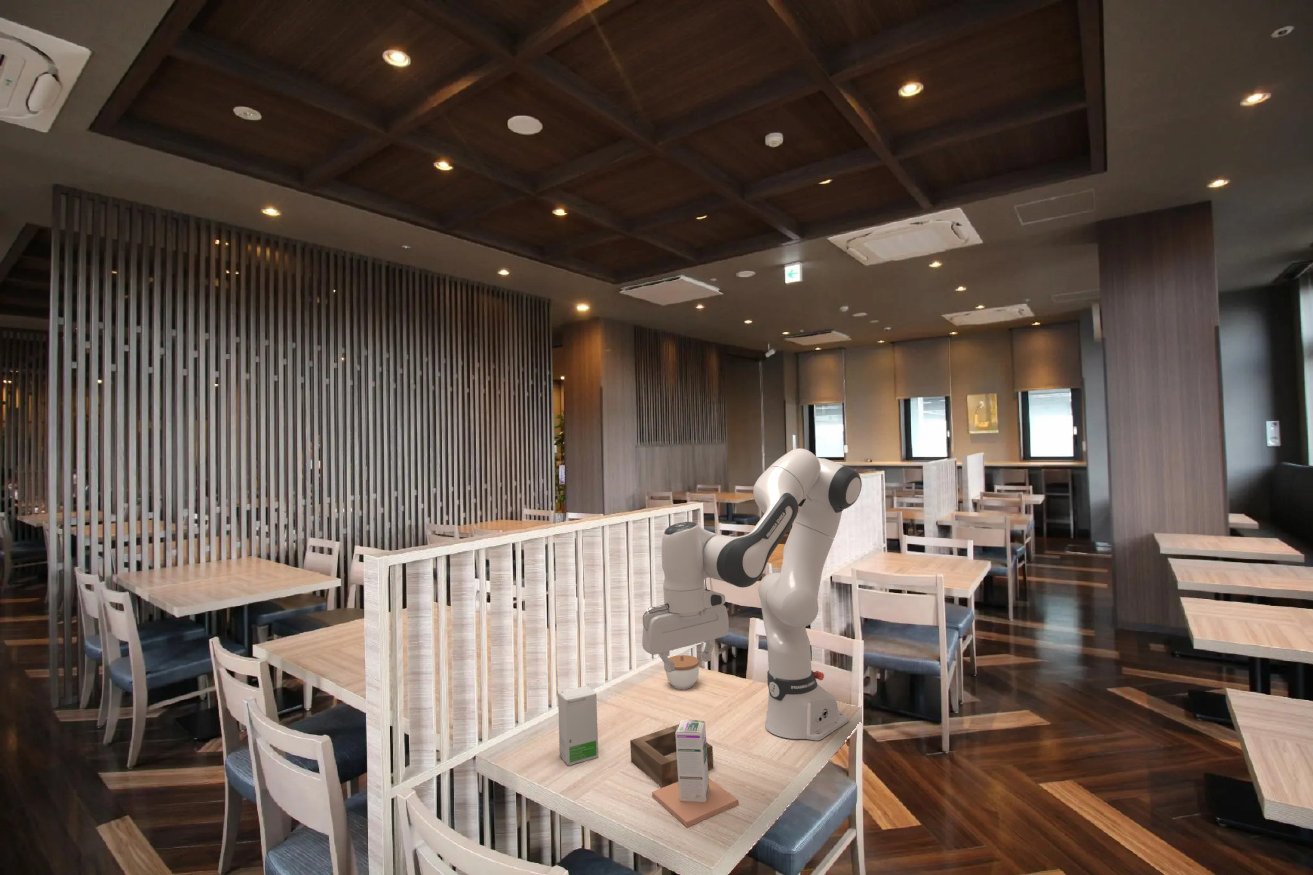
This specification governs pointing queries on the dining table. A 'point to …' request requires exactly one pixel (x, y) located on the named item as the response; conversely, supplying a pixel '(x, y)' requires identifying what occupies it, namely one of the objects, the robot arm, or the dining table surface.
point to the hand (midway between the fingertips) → (688, 665)
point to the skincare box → (578, 725)
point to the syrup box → (692, 761)
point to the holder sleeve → (660, 755)
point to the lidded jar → (683, 671)
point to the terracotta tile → (694, 811)
